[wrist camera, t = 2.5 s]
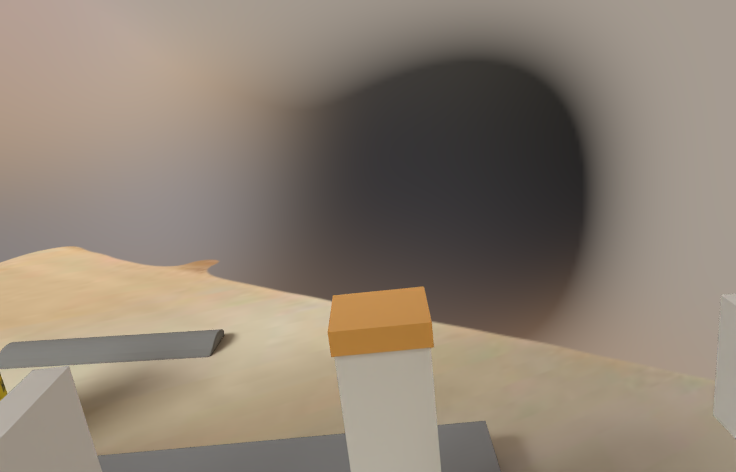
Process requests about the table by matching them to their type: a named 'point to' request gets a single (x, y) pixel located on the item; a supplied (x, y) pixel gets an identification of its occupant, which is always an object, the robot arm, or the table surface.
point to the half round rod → (110, 349)
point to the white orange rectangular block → (386, 379)
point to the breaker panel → (303, 454)
